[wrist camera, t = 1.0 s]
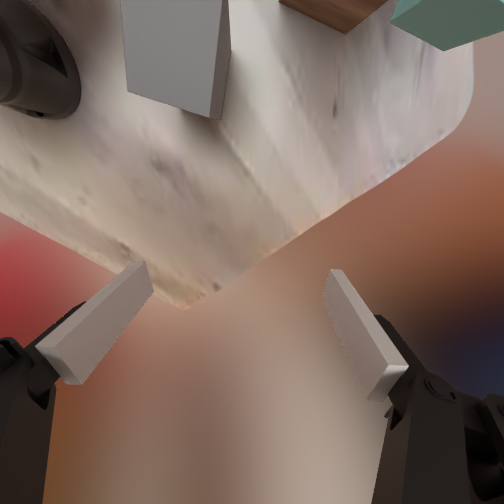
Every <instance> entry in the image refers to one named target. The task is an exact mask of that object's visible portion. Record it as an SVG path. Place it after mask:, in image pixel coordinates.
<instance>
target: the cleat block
mask: <svg viewBox="0 0 504 504" xmlns="http://www.w3.org/2000/svg"><path fill="white" fill-rule="evenodd" d="M120 4H121V16H122V28H123V41H124V53H125V65H126V78H127V90H128V92H130V93H133V94H137V95H140V96H143V97H146V98H149V99H152V100H155V101H158V102H161V103H164V104H168V105H171V106H174V107H177V108H180V109H183V110H186V111H189V112H192V113H196V114H199V115H202V116H205V117H208V118H213V119H219V120H221V116H222V109H223V102H224V95H225V88H226V81H227V75H228V68H229V61H230V54H231V38H230V22H229V6H228V0H120Z"/></svg>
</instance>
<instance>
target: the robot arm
mask: <svg viewBox="0 0 504 504" xmlns="http://www.w3.org/2000/svg"><path fill="white" fill-rule="evenodd" d="M80 95H81V85H80V78H79V73H78V70H77V67H76V64H75V61H74V59H73V57H72V55H71V53H70V51H69V49H68V47H67V45H66V44H65V42H64V40H63V39H62V37H61V36H60V34H59V33H58V32H57V30H56V29H55V28H54V27H53V25H52V24H51V23H50V22H49V21H48V20H47V19H46V17H45V16H44V15H43V14H42V13H41V12H40V11H38V10H37V9H36V8H35V7H34V6H33V5H31V4H30V3H29V2H28V1H26V0H0V105H3V106H5V107H8V108H10V109H13V110H15V111H18V112H20V113H23V114H26V115H29V116H32V117H36V118H43V119H60V118H64V117H66V116H68V115H70V114H71V113H73V112H74V110H75V109H76V108H77V106H78V103H79V100H80ZM153 292H154V290H153V287H152V283H151V280H150V276H149V273H148V269H147V266H146V262H145V261H134V262H133V263H131V264H130V265H129V266H128V267H127V268H126V269H124V270H123V271H122V272H121V273H120V274H119V275H117V276H116V277H115V278H114V279H113V280H112V281H111V282H109V283H108V284H107V285H106V286H105V287H103V288H102V289H101V290H100V291H99V292H98V293H96V294H95V295H94V296H93V297H92V298H91V299H90V300H88V301H85V302H83V303H81V304H79V305H78V306H76V307H74V308H72V309H71V310H70V311H69V312H68V313H66V314H65V315H64V317H62V318H61V319H59V320H58V321H57V322H56V324H53V325H52V326H51V327H49V328H48V329H47V330H46V331H45V332H43V333H42V334H41V335H40V336H39V337H37V338H36V339H35V340H34V341H33V342H31V343H30V344H29V345H28V346H26V347H25V348H24V349H23V348H22V347H21V345H20V344H19V343H18V342H17V341H16V340H15V339H13V338H12V337H4V338H0V504H42V502H43V493H44V485H45V477H46V469H47V461H48V453H49V444H50V436H51V428H52V419H53V412H54V404H55V395H56V386H55V384H54V383H55V382H56V381H57V379H58V378H59V377H61V378H62V380H63V381H64V382H65V383H66V384H77V385H82V384H83V383H84V381H85V380H86V379H87V378H88V376H89V375H90V374H91V372H92V371H93V370H94V369H95V367H96V366H97V365H98V363H99V362H100V361H101V359H102V358H103V357H104V356H105V354H106V353H107V352H108V350H109V349H110V348H111V346H112V345H113V344H114V342H115V341H116V340H117V339H118V337H119V336H120V335H121V333H122V332H123V331H124V330H125V328H126V327H127V325H128V324H129V323H130V322H131V320H132V319H133V318H134V316H135V315H136V314H137V313H138V311H139V310H140V308H141V307H142V306H143V305H144V303H145V302H146V301H147V300H148V298H149V297H150V296H151V294H152V293H153ZM322 300H323V302H324V305H325V307H326V309H327V312H328V314H329V316H330V319H331V321H332V323H333V326H334V328H335V330H336V333H337V335H338V337H339V340H340V342H341V344H342V347H343V349H344V351H345V354H346V356H347V358H348V361H349V363H350V365H351V368H352V370H353V372H354V375H355V377H356V379H357V382H358V384H359V386H360V389H361V391H362V393H363V396H364V398H365V400H366V401H375V402H383V401H384V400H385V398H386V397H387V396H389V398H390V400H391V402H392V403H393V405H392V406H391V407H390V408H389V410H388V411H387V412H386V414H385V416H384V417H385V418H388V417H389V418H388V423H387V428H386V433H385V438H384V444H383V448H382V453H381V458H380V464H379V468H378V473H377V478H376V484H375V488H374V493H373V498H372V503H371V504H504V397H503V396H500V395H496V394H488V395H487V396H485V397H484V398H483V399H482V400H481V399H478V398H476V397H472V396H470V395H467V394H464V393H461V392H458V391H456V390H454V388H453V387H451V386H450V385H449V384H448V383H447V382H446V381H444V380H443V379H442V378H440V377H439V376H437V375H435V374H432V373H430V372H428V371H427V370H426V369H425V367H424V366H423V365H422V363H421V362H420V361H419V360H418V359H417V357H416V356H415V354H414V353H413V352H412V350H411V349H410V348H409V347H408V345H407V344H406V343H405V341H403V340H402V337H401V336H400V335H399V334H398V333H397V331H396V330H395V328H394V327H393V326H392V324H391V323H390V322H389V321H387V320H386V319H385V318H383V317H382V316H381V315H373V314H372V313H371V311H370V310H369V308H368V307H367V306H366V304H365V303H364V301H363V300H362V299H361V297H360V296H359V294H358V293H357V291H356V290H355V289H354V287H353V286H352V285H351V283H350V281H349V280H348V279H347V277H346V276H345V275H344V273H343V272H342V270H335V269H330V272H329V276H328V280H327V283H326V287H325V290H324V294H323V298H322Z"/></svg>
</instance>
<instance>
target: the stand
mask: <svg viewBox="0 0 504 504" xmlns="http://www.w3.org/2000/svg"><path fill="white" fill-rule="evenodd" d="M387 1H388V0H279V2H280V3H283V4H285V5H287V6H289V7H291V8H293V9H295V10H297V11H299V12H301V13H303V14H305V15H307V16H309V17H311V18H313V19H315V20H317V21H319V22H321V23H323V24H325V25H327V26H330V27H332V28H334V29H336V30H338V31H340V32H342V33H344V34H347V33H348V32H349V31H350V30H352V29H353V28H354V27H355V26H357V25H358V24H359V23H360V22H362V21H363V20H364V19H365V18H367V17H368V16H369V15H370V14H372V13H373V12H374V11H375V10H377V9H378V8H379V7H380V6H382V5H383V4H384V3H385V2H387Z"/></svg>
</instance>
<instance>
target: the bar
mask: <svg viewBox="0 0 504 504" xmlns="http://www.w3.org/2000/svg"><path fill="white" fill-rule="evenodd" d="M389 22H390V23H392V24H393V25H395V26H397V27H399V28H401V29H403V30H405V31H406V32H408V33H410V34H412V35H414V36H416V37H418V38H420V39H421V40H423V41H425V42H427V43H429V44H431V45H433V46H434V47H436V48H438V49H440V50H442V51H446V50H449V49H452V48H455V47H457V46H460V45H463V44H466V43H469V42H472V41H475V40H478V39H480V38H484V37H487V36H490V35H493V34H496V33H498V32H501V31H504V0H399V1H398V4H397V6H396V8H395V10H394V12H393V15H392V17H391V19H390V21H389Z"/></svg>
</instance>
